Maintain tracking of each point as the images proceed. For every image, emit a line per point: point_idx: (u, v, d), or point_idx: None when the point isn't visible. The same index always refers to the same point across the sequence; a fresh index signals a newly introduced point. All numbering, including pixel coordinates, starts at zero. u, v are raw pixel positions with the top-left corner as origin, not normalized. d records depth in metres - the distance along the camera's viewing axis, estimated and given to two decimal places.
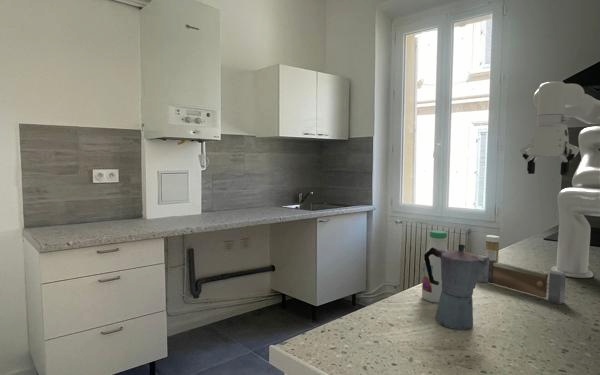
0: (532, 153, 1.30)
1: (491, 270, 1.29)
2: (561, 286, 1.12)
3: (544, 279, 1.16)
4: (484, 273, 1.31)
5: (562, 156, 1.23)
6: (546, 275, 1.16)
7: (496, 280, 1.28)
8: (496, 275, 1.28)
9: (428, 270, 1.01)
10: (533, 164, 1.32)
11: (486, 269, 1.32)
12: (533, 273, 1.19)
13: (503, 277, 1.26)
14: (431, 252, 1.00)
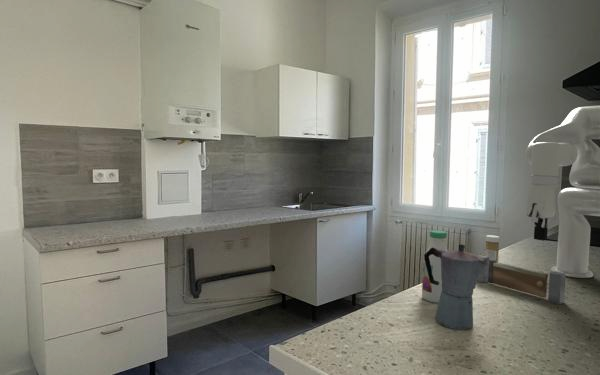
0: (542, 216, 1.20)
1: (491, 270, 1.29)
2: (561, 286, 1.12)
3: (544, 279, 1.16)
4: (484, 273, 1.31)
5: (548, 221, 1.24)
6: (546, 275, 1.16)
7: (496, 280, 1.28)
8: (496, 275, 1.28)
9: (428, 270, 1.01)
10: None
11: (486, 269, 1.32)
12: (533, 273, 1.19)
13: (503, 277, 1.26)
14: (431, 252, 1.00)
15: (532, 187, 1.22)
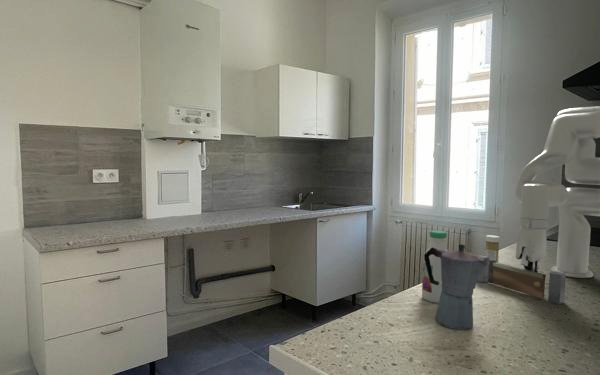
0: (532, 259, 1.18)
1: (491, 270, 1.29)
2: (561, 286, 1.12)
3: (541, 280, 1.16)
4: (484, 273, 1.31)
5: (538, 263, 1.22)
6: (544, 276, 1.16)
7: (496, 280, 1.28)
8: (496, 275, 1.28)
9: (428, 270, 1.01)
10: None
11: (486, 269, 1.32)
12: (531, 273, 1.18)
13: (502, 277, 1.26)
14: (431, 252, 1.00)
15: (521, 230, 1.20)
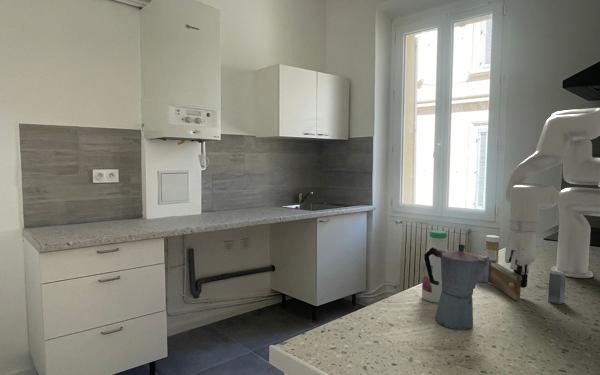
0: (521, 263, 1.15)
1: (489, 269, 1.30)
2: (561, 286, 1.12)
3: (516, 281, 1.14)
4: (484, 273, 1.31)
5: (528, 267, 1.19)
6: (518, 277, 1.13)
7: (492, 280, 1.28)
8: (492, 275, 1.28)
9: (428, 270, 1.01)
10: None
11: (486, 269, 1.32)
12: (510, 274, 1.17)
13: (495, 277, 1.26)
14: (431, 252, 1.00)
15: (511, 233, 1.17)
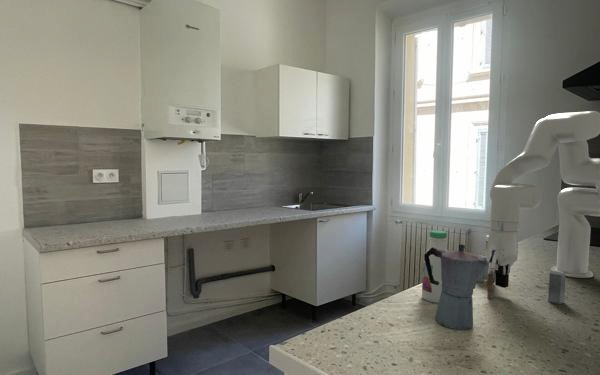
0: (502, 263, 1.15)
1: None
2: (561, 286, 1.12)
3: (488, 279, 1.16)
4: (484, 273, 1.31)
5: (509, 266, 1.19)
6: (490, 275, 1.15)
7: None
8: None
9: (428, 270, 1.01)
10: None
11: (486, 269, 1.32)
12: (488, 272, 1.19)
13: None
14: (431, 252, 1.00)
15: (491, 233, 1.17)
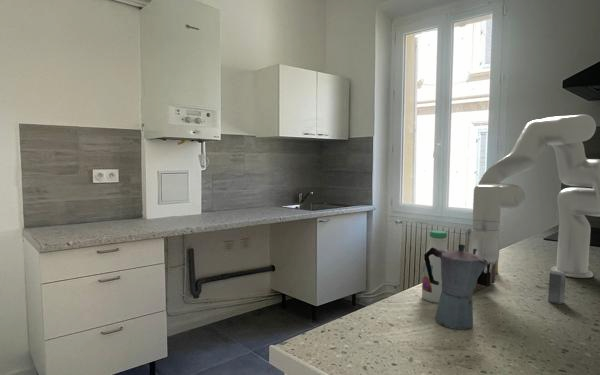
0: None
1: None
2: (561, 286, 1.12)
3: None
4: None
5: (491, 265, 1.20)
6: None
7: None
8: None
9: (428, 270, 1.01)
10: None
11: None
12: None
13: None
14: (431, 252, 1.00)
15: (473, 232, 1.18)
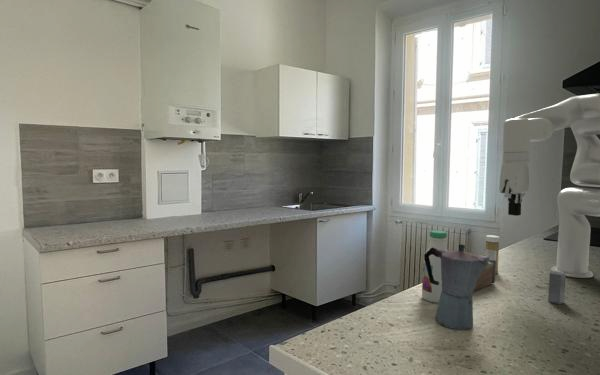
0: (515, 191, 1.22)
1: None
2: (561, 286, 1.12)
3: None
4: None
5: (521, 196, 1.26)
6: None
7: None
8: None
9: (428, 270, 1.01)
10: None
11: None
12: None
13: None
14: (431, 252, 1.00)
15: (504, 164, 1.24)
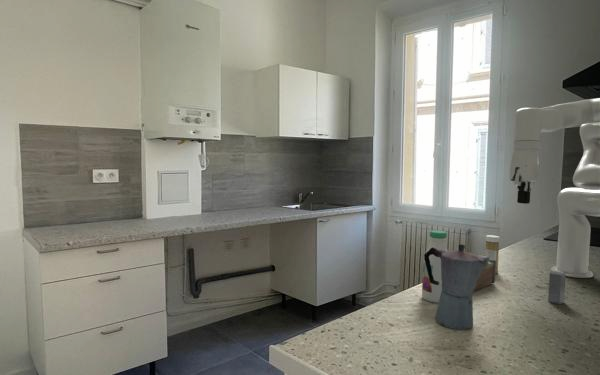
0: (525, 179, 1.25)
1: None
2: (561, 286, 1.12)
3: None
4: None
5: (531, 184, 1.28)
6: None
7: None
8: None
9: (428, 270, 1.01)
10: None
11: None
12: None
13: None
14: (431, 252, 1.00)
15: (515, 152, 1.26)
